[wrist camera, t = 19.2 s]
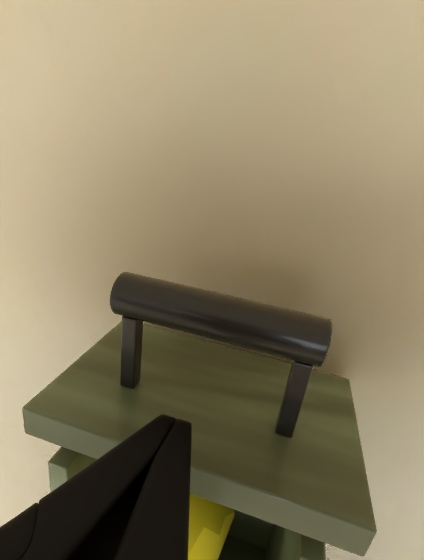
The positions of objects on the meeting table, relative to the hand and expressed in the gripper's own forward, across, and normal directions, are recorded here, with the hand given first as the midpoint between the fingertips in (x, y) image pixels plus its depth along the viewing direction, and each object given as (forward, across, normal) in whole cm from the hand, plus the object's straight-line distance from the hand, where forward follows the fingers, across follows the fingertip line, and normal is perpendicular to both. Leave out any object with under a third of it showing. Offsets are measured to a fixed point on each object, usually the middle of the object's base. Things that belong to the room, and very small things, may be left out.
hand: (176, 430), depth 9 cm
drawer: (+7, 0, +6) cm, 10 cm away
